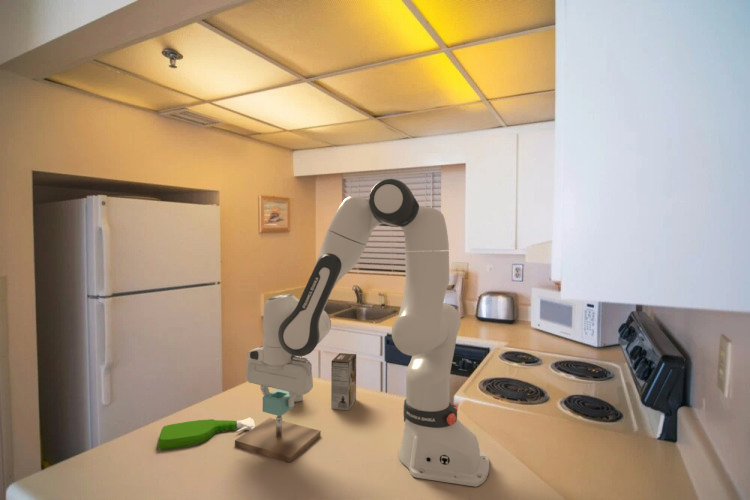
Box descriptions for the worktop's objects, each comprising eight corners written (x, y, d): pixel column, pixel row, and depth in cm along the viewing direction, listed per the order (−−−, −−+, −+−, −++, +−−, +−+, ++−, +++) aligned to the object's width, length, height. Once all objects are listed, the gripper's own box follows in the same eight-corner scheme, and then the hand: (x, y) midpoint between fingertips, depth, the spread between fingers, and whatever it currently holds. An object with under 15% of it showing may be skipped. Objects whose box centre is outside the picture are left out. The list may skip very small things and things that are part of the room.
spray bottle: (162, 434, 105) (252, 420, 114) (156, 454, 95) (256, 437, 104) (162, 423, 105) (253, 410, 114) (156, 443, 95) (256, 427, 104)
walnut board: (320, 436, 104) (320, 430, 104) (290, 462, 91) (290, 456, 91) (269, 422, 111) (269, 417, 111) (234, 445, 98) (234, 440, 98)
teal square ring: (294, 407, 102) (294, 392, 102) (280, 416, 97) (280, 401, 97) (276, 402, 105) (277, 389, 105) (262, 411, 99) (262, 397, 99)
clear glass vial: (283, 436, 101) (283, 414, 101) (279, 439, 100) (279, 417, 100) (278, 435, 102) (278, 413, 102) (274, 437, 101) (274, 416, 101)
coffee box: (338, 397, 130) (339, 352, 129) (356, 399, 128) (356, 353, 128) (330, 409, 121) (331, 360, 120) (349, 411, 120) (349, 362, 119)
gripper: (317, 355, 99) (317, 406, 100) (258, 345, 108) (258, 392, 108) (304, 362, 93) (303, 416, 94) (242, 351, 102) (242, 400, 102)
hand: (278, 403), depth 101 cm, fingers closed on teal square ring, 6 cm apart
